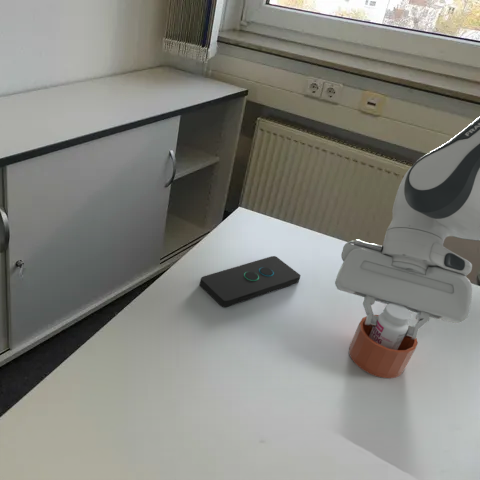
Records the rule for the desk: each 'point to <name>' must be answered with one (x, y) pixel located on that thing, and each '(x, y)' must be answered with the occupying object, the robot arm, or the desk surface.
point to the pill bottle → (391, 326)
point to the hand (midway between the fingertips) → (389, 331)
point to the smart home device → (249, 281)
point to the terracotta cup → (379, 353)
